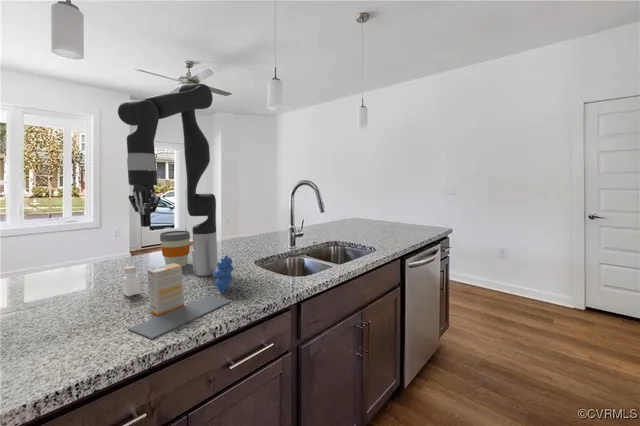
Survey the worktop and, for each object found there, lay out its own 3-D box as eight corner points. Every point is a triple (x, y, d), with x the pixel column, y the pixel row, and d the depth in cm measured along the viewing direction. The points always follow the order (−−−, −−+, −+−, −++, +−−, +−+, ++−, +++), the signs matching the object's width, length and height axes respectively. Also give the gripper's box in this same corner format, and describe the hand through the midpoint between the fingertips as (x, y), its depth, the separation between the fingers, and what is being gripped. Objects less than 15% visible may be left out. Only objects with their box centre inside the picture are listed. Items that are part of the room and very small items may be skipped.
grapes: (220, 283, 114) (219, 252, 113) (237, 284, 114) (236, 252, 112) (205, 295, 103) (204, 260, 102) (224, 296, 102) (223, 261, 101)
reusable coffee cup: (184, 268, 134) (182, 235, 132) (155, 268, 134) (153, 235, 133) (196, 261, 147) (194, 230, 145) (170, 261, 147) (168, 230, 145)
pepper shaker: (136, 291, 107) (134, 264, 106) (140, 293, 105) (138, 266, 103) (123, 294, 104) (121, 267, 103) (127, 297, 101) (125, 269, 100)
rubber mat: (128, 330, 79) (128, 328, 79) (208, 296, 102) (208, 295, 102) (152, 339, 74) (151, 338, 74) (230, 302, 97) (230, 301, 97)
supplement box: (175, 303, 97) (173, 262, 95) (184, 306, 94) (182, 265, 93) (149, 312, 90) (146, 269, 88) (157, 316, 87) (154, 271, 86)
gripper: (116, 169, 91) (121, 226, 93) (143, 168, 85) (147, 229, 87) (141, 170, 98) (145, 223, 100) (167, 169, 91) (171, 226, 93)
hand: (146, 226), depth 93 cm, fingers closed
